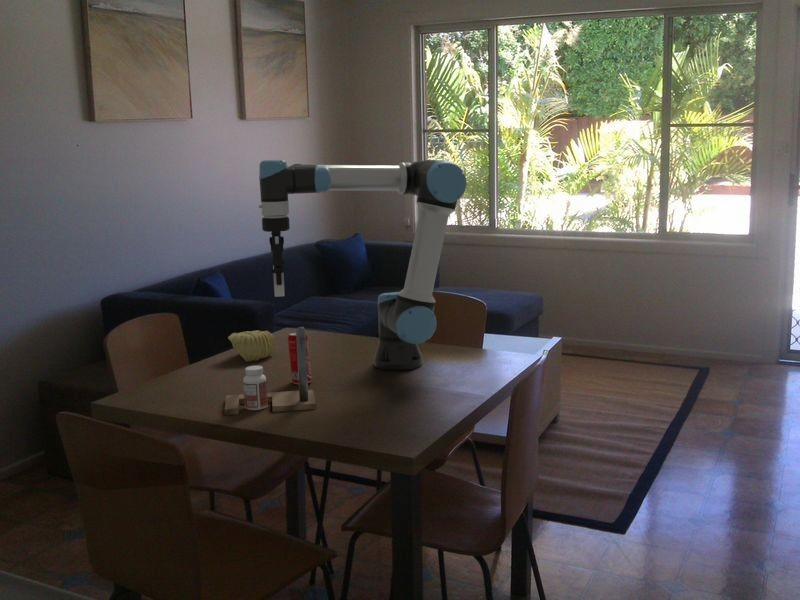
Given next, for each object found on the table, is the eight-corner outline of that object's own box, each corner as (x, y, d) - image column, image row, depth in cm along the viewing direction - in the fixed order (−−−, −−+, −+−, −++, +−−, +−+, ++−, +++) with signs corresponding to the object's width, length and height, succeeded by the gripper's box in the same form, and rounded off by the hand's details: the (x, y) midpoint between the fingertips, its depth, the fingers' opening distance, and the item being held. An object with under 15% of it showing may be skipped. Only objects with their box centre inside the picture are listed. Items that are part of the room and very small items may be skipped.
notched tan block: (313, 394, 253) (313, 389, 252) (316, 408, 240) (315, 403, 240) (226, 400, 249) (226, 395, 249) (224, 415, 237) (224, 409, 236)
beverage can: (308, 385, 262) (306, 335, 259) (287, 384, 263) (284, 335, 260) (314, 379, 267) (312, 330, 265) (293, 379, 269) (291, 330, 266)
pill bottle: (264, 402, 247) (261, 363, 245) (270, 408, 241) (268, 368, 239) (242, 406, 244) (239, 366, 242) (248, 412, 239) (246, 371, 236)
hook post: (308, 404, 244) (304, 321, 240) (309, 413, 237) (305, 328, 232) (299, 404, 244) (295, 322, 240) (300, 413, 236) (296, 328, 232)
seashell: (283, 363, 297) (256, 346, 307) (286, 333, 294) (259, 317, 303) (241, 373, 285) (214, 356, 295) (244, 342, 282) (217, 326, 291)
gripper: (261, 212, 260) (265, 285, 264) (261, 221, 236) (265, 300, 240) (287, 211, 261) (291, 283, 265) (290, 220, 237) (294, 299, 241)
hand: (279, 292), depth 252 cm, fingers open, 13 cm apart
